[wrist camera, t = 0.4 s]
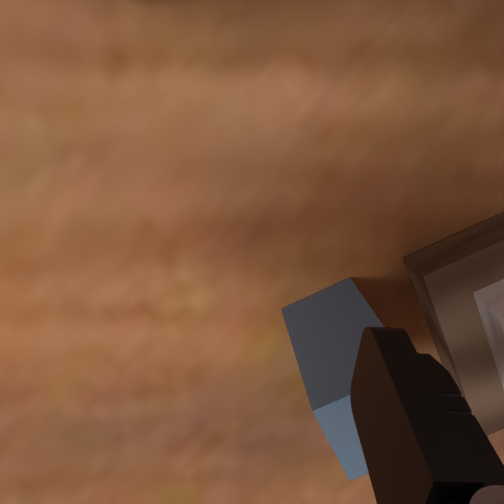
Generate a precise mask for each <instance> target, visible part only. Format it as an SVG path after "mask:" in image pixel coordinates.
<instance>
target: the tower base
mask: <svg viewBox="0 0 504 504" xmlns="http://www.w3.org/2000/svg"><path fill="white" fill-rule="evenodd" d="M403 259H404V261H405V264H406V267H407V269H408V272H409V275H410V278H411V280H412V283H413V286H414V288H415V291H416V294H417V297H418V299H419V302H420V305H421V307H422V310H423V313H424V316H425V318H426V321H427V324H428V326H429V329H430V332H431V335H432V337H433V340H434V343H435V345H436V348H437V351H438V353H439V356H440V359H441V362H442V364H443V367H444V368H445V369H446V370H448V371H449V372H450V374H451V376H452V378H453V379H454V381H455V383H456V384H457V386H458V388H459V390H460V391H461V396H462V397H464V398H465V400H466V402H467V403H468V405H469V407H470V408H471V410H472V412H471V413H472V415H475V417H476V419H477V421H478V422H479V424H480V426H481V427H482V429H483V431H484V433H485V434H486V436H487V435H489V434H492V433H494V432H496V431H499V430H501V429H504V212H502V213H500V214H498V215H495V216H493V217H491V218H489V219H487V220H485V221H482V222H480V223H478V224H476V225H474V226H471V227H469V228H467V229H465V230H463V231H460V232H458V233H456V234H454V235H452V236H449V237H447V238H445V239H443V240H441V241H439V242H436V243H434V244H432V245H430V246H428V247H425V248H423V249H421V250H419V251H417V252H414V253H412V254H410V255H408V256H406V257H403Z"/></svg>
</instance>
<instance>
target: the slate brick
mask: <svg viewBox="0 0 504 504" xmlns="http://www.w3.org/2000/svg"><path fill="white" fill-rule="evenodd" d="M281 310H282V313H283V316H284V320H285V323H286V326H287V329H288V333H289V336H290V339H291V343H292V346H293V349H294V352H295V356H296V359H297V362H298V365H299V369H300V372H301V375H302V378H303V382H304V385H305V388H306V391H307V395H308V398H309V401H310V405H311V408H312V411H313V413H314V415H315V417H316V419H317V420H318V422H319V424H320V426H321V428H322V430H323V432H324V434H325V435H326V437H327V439H328V441H329V443H330V445H331V447H332V449H333V450H334V452H335V454H336V456H337V458H338V460H339V462H340V464H341V465H342V467H343V469H344V471H345V473H346V475H347V477H348V479H349V480H350V481H351V480H353V479H356V478H358V477H361V476H363V475H365V474H368V473H369V472H368V469H367V465H366V461H365V458H364V454H363V450H362V447H361V443H360V440H359V436H358V432H357V429H356V425H355V421H354V418H353V414H352V409H351V400H350V391H351V382H352V377H353V373H354V368H355V364H356V359H357V355H358V350H359V346H360V341H361V337H362V333H363V330H364V329H365V327H367V326H369V327H384V326H383V324H382V323H381V321H380V320H379V318H378V317H377V316H376V314H375V313H374V311H373V310H372V308H371V307H370V305H369V304H368V303H367V301H366V300H365V298H364V297H363V295H362V294H361V292H360V291H359V290H358V288H357V287H356V285H355V284H354V282H353V281H352V279H351V278H348V279H345V280H343V281H341V282H339V283H337V284H334V285H332V286H330V287H328V288H326V289H323V290H321V291H319V292H317V293H315V294H313V295H310V296H308V297H306V298H304V299H302V300H299V301H297V302H295V303H293V304H291V305H288V306H286V307H284V308H282V309H281Z"/></svg>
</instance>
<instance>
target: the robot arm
mask: <svg viewBox="0 0 504 504" xmlns="http://www.w3.org/2000/svg"><path fill="white" fill-rule="evenodd" d="M350 400H351V409H352V414H353V418H354V421H355V425H356V429H357V432H358V436H359V440H360V443H361V447H362V450H363V454H364V458H365V461H366V465H367V469H368V472H369V476H370V479H371V483H372V487H373V490H374V494H375V498H376V501H377V504H504V465H503V463H502V462H501V460H500V458H499V457H498V455H497V453H496V451H495V450H494V448H493V446H492V445H491V443H490V441H489V439H488V438H487V436H486V434H485V433H484V431H483V429H482V427H481V426H480V424H479V422H478V421H477V419H476V417H475V415H472V413H471V412H472V410H471V408H470V407H469V405H468V403H467V402H466V400H465V398H464V397H462V396H461V391H460V390H459V388H458V386H457V384H456V383H455V381H454V379H453V378H452V376H451V374H450V372H449V371H448V370H446V369H445V368H444V367H443V366H442V365H441V364H440V363H439V362H437V361H436V360H435V359H434V358H433V357H432V356H431V355H430V354H418V353H417V352H416V350H415V348H414V346H413V344H412V342H411V340H410V338H409V336H408V334H407V332H406V331H405V330H404V329H403V328H389V327H369V326H367V327H365V329H364V330H363V333H362V337H361V341H360V346H359V350H358V355H357V359H356V364H355V368H354V373H353V377H352V382H351V391H350Z"/></svg>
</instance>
